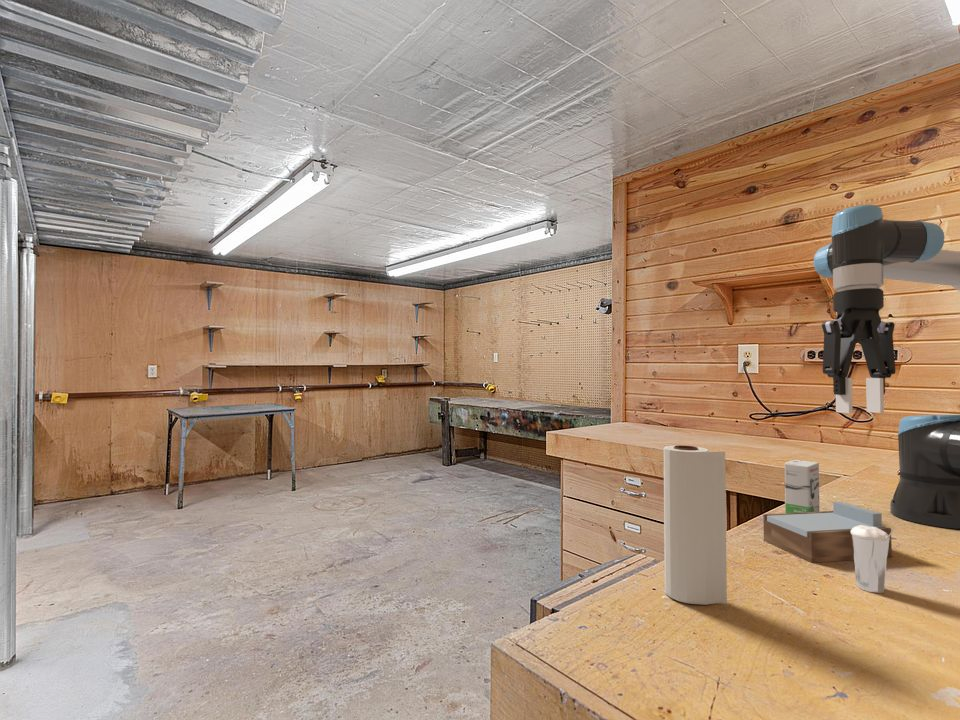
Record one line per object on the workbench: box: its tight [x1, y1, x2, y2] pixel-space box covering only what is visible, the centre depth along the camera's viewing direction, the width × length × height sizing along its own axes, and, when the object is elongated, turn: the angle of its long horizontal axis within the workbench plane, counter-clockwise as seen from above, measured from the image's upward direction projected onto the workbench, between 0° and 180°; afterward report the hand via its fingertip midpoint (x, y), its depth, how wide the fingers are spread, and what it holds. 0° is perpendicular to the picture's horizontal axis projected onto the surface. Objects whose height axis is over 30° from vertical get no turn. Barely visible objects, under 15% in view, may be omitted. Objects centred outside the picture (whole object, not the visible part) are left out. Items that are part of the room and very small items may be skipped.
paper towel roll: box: [663, 444, 728, 606], centre depth 69 cm, size 7×6×21 cm
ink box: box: [784, 459, 820, 513], centre depth 111 cm, size 9×5×12 cm, turn 131°
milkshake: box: [851, 525, 896, 594], centre depth 72 cm, size 4×5×10 cm
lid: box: [767, 501, 887, 537], centre depth 89 cm, size 16×9×3 cm, turn 99°
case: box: [762, 510, 893, 564], centre depth 89 cm, size 16×11×5 cm
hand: (859, 412), depth 91 cm, fingers open, 6 cm apart
